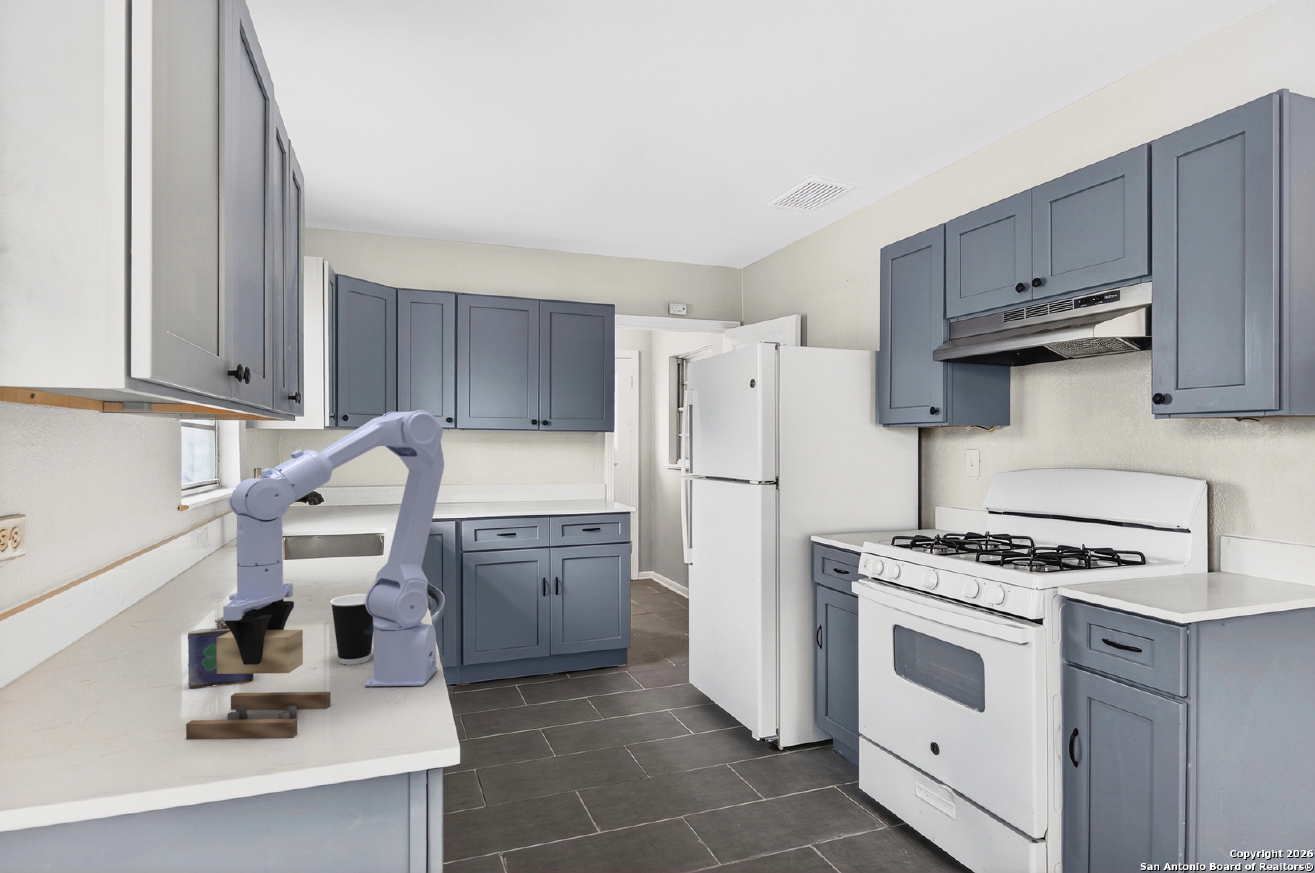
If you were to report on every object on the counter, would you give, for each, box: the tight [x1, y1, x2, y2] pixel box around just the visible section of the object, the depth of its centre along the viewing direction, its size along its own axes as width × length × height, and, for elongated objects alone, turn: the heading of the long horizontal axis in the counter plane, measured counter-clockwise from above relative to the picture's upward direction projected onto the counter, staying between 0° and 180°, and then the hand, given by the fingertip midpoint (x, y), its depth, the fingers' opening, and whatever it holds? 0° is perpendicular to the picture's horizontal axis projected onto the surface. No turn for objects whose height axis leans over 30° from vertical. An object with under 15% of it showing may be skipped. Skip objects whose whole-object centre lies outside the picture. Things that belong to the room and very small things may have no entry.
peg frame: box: [185, 691, 331, 740], centre depth 101 cm, size 14×11×2 cm
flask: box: [187, 616, 255, 689], centre depth 117 cm, size 9×3×11 cm, turn 109°
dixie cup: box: [329, 593, 374, 666], centre depth 128 cm, size 8×8×11 cm
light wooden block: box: [217, 629, 304, 675], centre depth 102 cm, size 10×4×5 cm, turn 90°
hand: (261, 658), depth 102 cm, fingers closed on light wooden block, 4 cm apart
